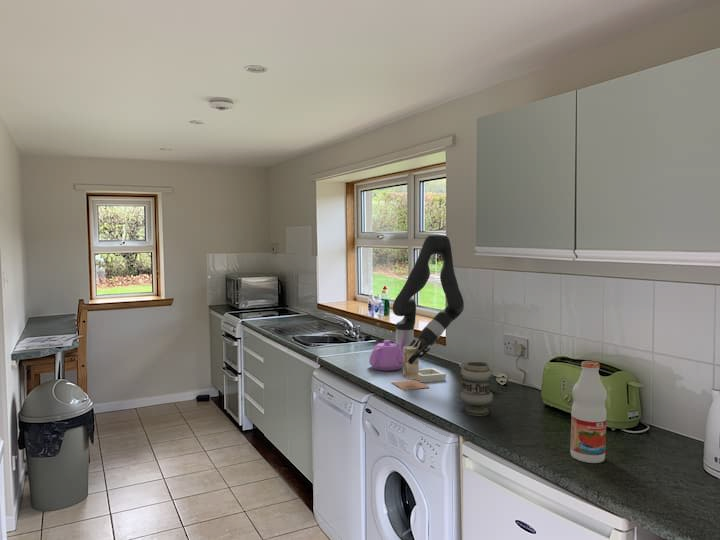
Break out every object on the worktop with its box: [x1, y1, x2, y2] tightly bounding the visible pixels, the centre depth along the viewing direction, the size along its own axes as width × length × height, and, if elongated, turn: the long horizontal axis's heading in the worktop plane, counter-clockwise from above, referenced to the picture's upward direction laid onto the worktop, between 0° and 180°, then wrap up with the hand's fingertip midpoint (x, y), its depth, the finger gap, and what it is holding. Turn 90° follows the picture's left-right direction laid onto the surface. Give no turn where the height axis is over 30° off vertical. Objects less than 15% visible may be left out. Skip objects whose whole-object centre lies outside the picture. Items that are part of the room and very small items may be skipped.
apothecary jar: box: [459, 360, 494, 417], centre depth 199 cm, size 12×12×18 cm
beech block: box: [402, 346, 420, 380], centre depth 234 cm, size 5×5×13 cm
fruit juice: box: [570, 360, 608, 464], centre depth 157 cm, size 9×9×28 cm
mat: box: [391, 379, 430, 391], centre depth 234 cm, size 12×12×1 cm
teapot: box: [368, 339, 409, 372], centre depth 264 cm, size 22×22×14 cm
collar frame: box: [415, 367, 447, 383], centre depth 247 cm, size 12×12×3 cm
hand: (406, 361), depth 233 cm, fingers closed on beech block, 5 cm apart
